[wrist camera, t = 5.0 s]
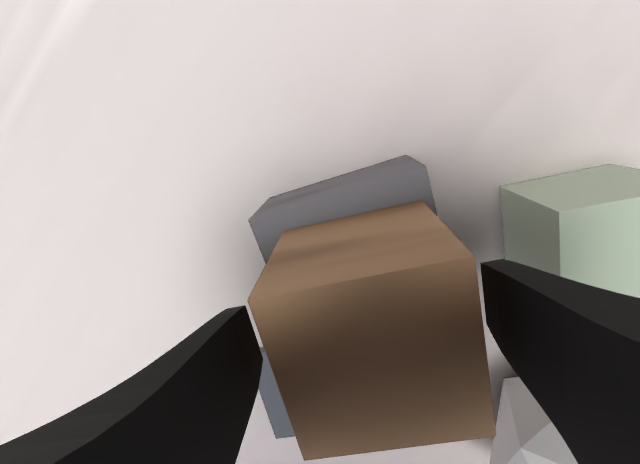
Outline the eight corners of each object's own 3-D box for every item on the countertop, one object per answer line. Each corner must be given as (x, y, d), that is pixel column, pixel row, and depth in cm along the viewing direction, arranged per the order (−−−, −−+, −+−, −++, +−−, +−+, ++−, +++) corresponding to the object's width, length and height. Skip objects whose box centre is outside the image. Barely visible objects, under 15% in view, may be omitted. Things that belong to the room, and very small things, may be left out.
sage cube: (605, 258, 16) (700, 308, 12) (505, 275, 17) (561, 329, 12) (607, 163, 15) (715, 182, 10) (498, 186, 15) (559, 211, 11)
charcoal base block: (436, 280, 17) (462, 326, 13) (313, 311, 18) (305, 362, 14) (405, 154, 15) (425, 165, 11) (270, 196, 16) (248, 220, 12)
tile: (376, 420, 20) (377, 427, 19) (277, 432, 21) (275, 440, 20) (356, 332, 18) (356, 338, 18) (248, 350, 19) (246, 356, 18)
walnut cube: (441, 322, 13) (496, 435, 9) (317, 343, 14) (304, 460, 9) (421, 199, 12) (474, 255, 7) (283, 230, 12) (247, 300, 8)
